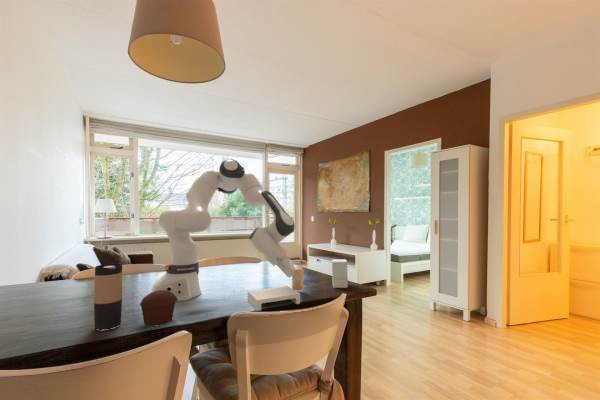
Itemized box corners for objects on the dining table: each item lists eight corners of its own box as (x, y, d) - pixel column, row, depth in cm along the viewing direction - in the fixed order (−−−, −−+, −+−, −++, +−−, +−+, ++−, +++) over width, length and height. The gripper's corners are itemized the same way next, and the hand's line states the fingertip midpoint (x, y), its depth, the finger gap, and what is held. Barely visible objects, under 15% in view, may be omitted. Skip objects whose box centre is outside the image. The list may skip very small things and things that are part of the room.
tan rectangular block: (295, 290, 126) (294, 270, 126) (290, 287, 131) (290, 268, 131) (305, 289, 128) (304, 269, 129) (300, 286, 133) (300, 267, 133)
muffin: (136, 329, 90) (136, 298, 90) (142, 317, 100) (142, 289, 101) (177, 324, 94) (177, 294, 95) (178, 313, 105) (178, 285, 105)
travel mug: (102, 322, 96) (103, 263, 97) (126, 321, 97) (127, 263, 97) (88, 332, 88) (89, 268, 89) (113, 331, 89) (114, 267, 90)
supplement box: (346, 284, 143) (346, 259, 143) (347, 288, 136) (347, 261, 136) (332, 283, 144) (331, 258, 144) (332, 287, 136) (332, 261, 137)
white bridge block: (257, 310, 106) (257, 300, 106) (247, 300, 118) (247, 291, 118) (300, 303, 114) (300, 293, 114) (287, 294, 126) (287, 285, 126)
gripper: (282, 255, 119) (305, 278, 119) (282, 248, 140) (302, 268, 140) (271, 265, 119) (294, 288, 119) (273, 257, 139) (293, 277, 139)
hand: (298, 277), depth 130 cm, fingers closed on tan rectangular block, 5 cm apart
